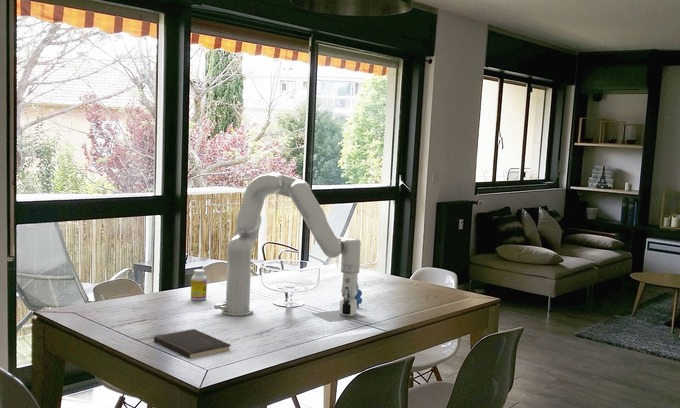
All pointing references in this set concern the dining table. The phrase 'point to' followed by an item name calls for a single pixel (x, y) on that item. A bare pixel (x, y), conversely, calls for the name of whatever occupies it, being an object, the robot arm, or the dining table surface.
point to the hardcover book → (191, 343)
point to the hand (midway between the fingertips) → (347, 311)
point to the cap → (353, 307)
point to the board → (336, 316)
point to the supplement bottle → (198, 285)
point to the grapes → (358, 296)
